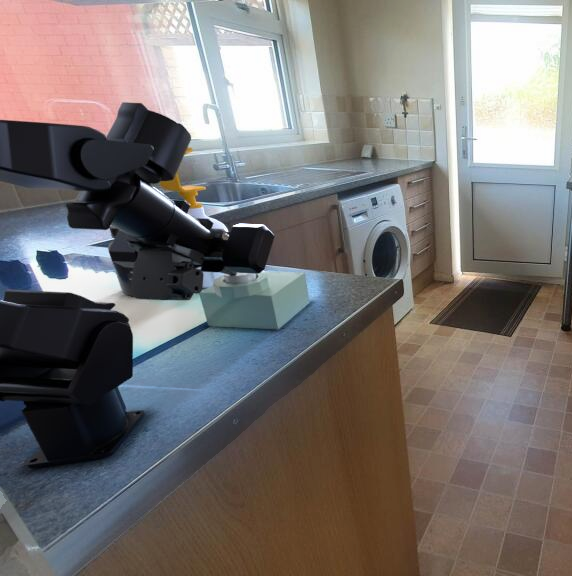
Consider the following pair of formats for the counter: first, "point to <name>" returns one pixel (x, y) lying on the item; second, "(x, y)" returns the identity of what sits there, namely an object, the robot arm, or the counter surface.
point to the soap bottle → (194, 213)
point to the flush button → (239, 278)
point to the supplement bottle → (122, 270)
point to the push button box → (256, 300)
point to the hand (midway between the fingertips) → (234, 272)
